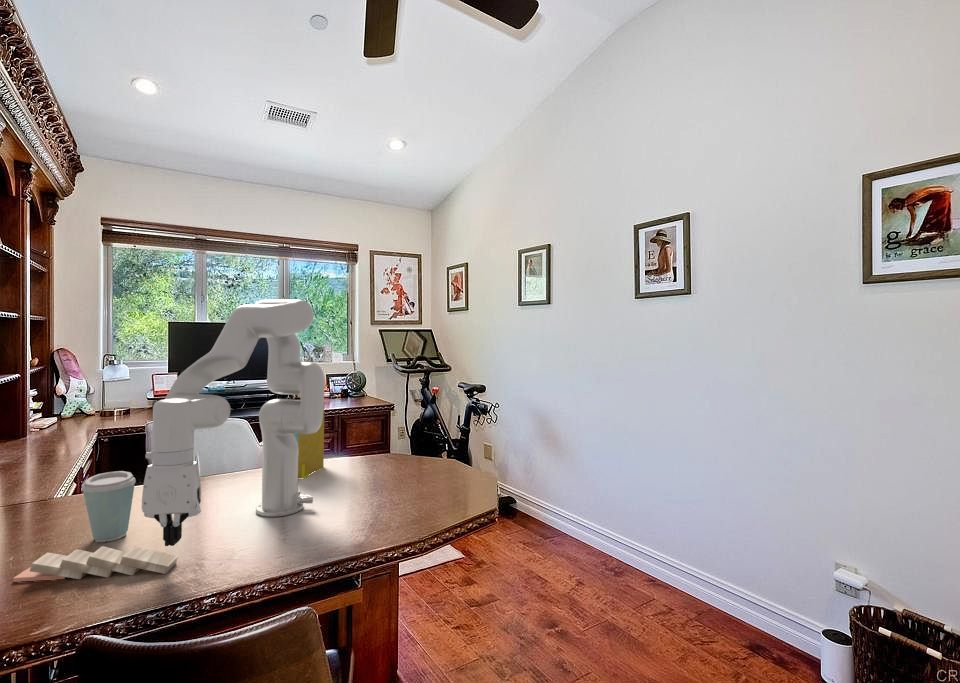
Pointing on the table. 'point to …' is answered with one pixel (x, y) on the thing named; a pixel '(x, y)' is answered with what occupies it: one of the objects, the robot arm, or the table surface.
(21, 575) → the domino
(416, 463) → the table surface
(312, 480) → the table surface
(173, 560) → the domino
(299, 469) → the book
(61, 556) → the domino
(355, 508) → the table surface
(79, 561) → the domino
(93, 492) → the disposable coffee cup
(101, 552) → the domino
